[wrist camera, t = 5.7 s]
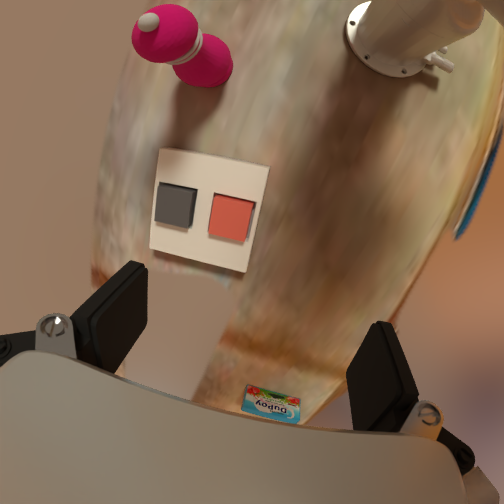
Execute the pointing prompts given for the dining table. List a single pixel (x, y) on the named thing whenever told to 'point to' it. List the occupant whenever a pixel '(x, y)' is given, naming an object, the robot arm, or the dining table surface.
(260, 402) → the blue printed product box
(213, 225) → the button red
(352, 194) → the dining table surface
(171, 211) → the button black
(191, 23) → the pepper mill
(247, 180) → the switch panel
